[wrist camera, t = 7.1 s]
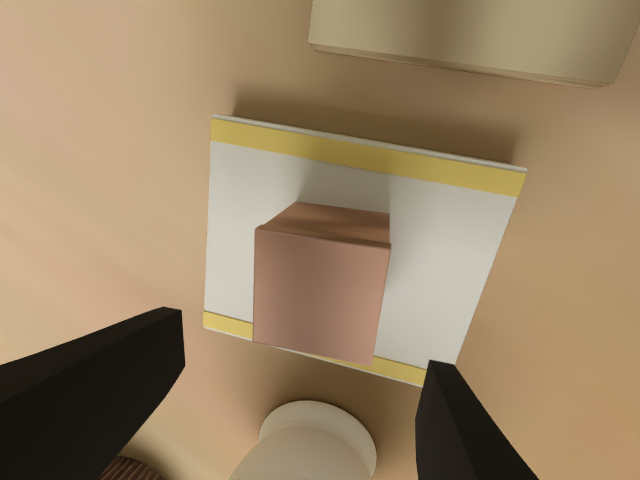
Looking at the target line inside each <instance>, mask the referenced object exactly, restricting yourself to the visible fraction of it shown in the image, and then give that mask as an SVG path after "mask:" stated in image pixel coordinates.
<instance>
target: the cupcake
mask: <svg viewBox="0 0 640 480" xmlns="http://www.w3.org/2000/svg"><path fill="white" fill-rule="evenodd" d="M97 480H163V479H162V478H161V476H160V475H159V474H158V473H157V472H156V471H154V470H153V469H151V468H150V467H149V466H148V465H145V464H144V463H142V462H139V461H137V460H133V459H131V458H125V457H121V456H120V457H115V458H114V459H113V461H112V462H111V463H110V464H109V465H108V467H107V468H106V469H105V470H104V471H103V473H102V474H101V475H100V476H99V478H98V479H97Z"/></svg>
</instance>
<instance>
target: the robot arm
mask: <svg viewBox="0 0 640 480" xmlns="http://www.w3.org/2000/svg"><path fill="white" fill-rule="evenodd" d="M184 367H185V353H184V339H183V325H182V311H181V310H178V309H173V308H168V307H161V308H157V309H154V310H151V311H148V312H145V313H142V314H140V315H137V316H134V317H132V318H129V319H127V320H124V321H121V322H119V323H116V324H114V325H111V326H109V327H106V328H103V329H101V330H98V331H96V332H93V333H91V334H88V335H85V336H83V337H80V338H77V339H75V340H72V341H69V342H66V343H64V344H61V345H58V346H55V347H52V348H50V349H47V350H44V351H41V352H38V353H36V354H33V355H30V356H27V357H24V358H21V359H18V360H15V361H12V362H8V363H5V364H2V365H0V480H97V479H98V478H99V476H100V475H101V474H102V473H103V471H104V470H105V469H106V468H107V467H108V465H109V464H110V463H111V462H112V461H113V459H114V458H115V457H116V456H117V455H118V453H119V452H120V451H121V450H122V449H123V447H124V446H125V445H126V444H127V443H128V442H129V440H130V439H131V438H132V437H133V436H134V434H135V433H136V432H137V431H138V430H139V428H140V427H141V426H142V425H143V424H144V422H145V421H146V420H147V419H148V418H149V416H150V415H151V414H152V413H153V412H154V410H155V409H156V408H157V407H158V405H159V404H160V403H161V402H162V401H163V399H164V398H165V397H166V395H167V394H168V392H169V391H170V389H171V388H172V386H173V385H174V383H175V382H176V380H177V379H178V377H179V375H180V374H181V372H182V370H183V369H184ZM415 433H416V463H417V472H418V480H539V479H538V478H537V476H536V475H535V474H534V473H533V471H532V470H531V469H530V468H529V467H528V465H527V464H526V463H525V462H524V460H523V459H522V458H521V457H520V455H519V454H518V453H517V452H516V450H515V449H514V448H513V446H512V445H511V444H510V442H509V441H508V440H507V438H506V437H505V436H504V434H503V433H502V432H501V430H500V429H499V428H498V426H497V425H496V424H495V422H494V421H493V420H492V418H491V417H490V415H489V414H488V413H487V411H486V410H485V409H484V407H483V406H482V404H481V403H480V401H479V400H478V399H477V397H476V396H475V394H474V393H473V391H472V390H471V388H470V387H469V386H468V384H467V383H466V381H465V380H464V378H463V377H462V375H461V374H460V372H459V371H458V370H457V368H456V367H455V365H454V364H450V363H445V362H440V361H435V360H430V359H429V363H428V367H427V371H426V376H425V380H424V384H423V388H422V392H421V397H420V401H419V405H418V409H417V414H416V418H415Z"/></svg>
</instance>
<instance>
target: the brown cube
mask: <svg viewBox="0 0 640 480" xmlns="http://www.w3.org/2000/svg"><path fill="white" fill-rule="evenodd" d="M390 254H391V243H390V214H389V213H381V212H374V211H366V210H358V209H351V208H343V207H336V206H328V205H320V204H313V203H305V202H297V201H295V202H294V203H293V204H291V205H290V206H289V207H287V208H286V209H285V210H283V211H282V212H280V213H279V214H278V215H276V216H275V217H274V218H272V219H271V220H270V221H268V222H267V223H265V224H264V225H263V224H261V225H259V226H258V227H257V228H255V234H254V286H253V338H252V342H255V343H260V344H265V345H270V346H274V347H279V348H284V349H289V350H294V351H298V352H303V353H308V354H313V355H317V356H322V357H327V358H332V359H337V360H341V361H346V362H351V363H356V364H360V365H365V366H370V367H371V366H372V361H373V355H374V349H375V343H376V337H377V331H378V325H379V319H380V313H381V307H382V302H383V296H384V290H385V284H386V278H387V272H388V266H389V260H390Z"/></svg>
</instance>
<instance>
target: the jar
mask: <svg viewBox="0 0 640 480" xmlns="http://www.w3.org/2000/svg"><path fill="white" fill-rule="evenodd" d="M376 462H377V454H376V448H375V445H374V442H373V440H372V438H371V436H370V434H369V433H368V431H367V430H366V429H365V427H364V426H363V425H362V424H361V423H360V422H359V421H358V420H357V419H356V418H354V417H353V416H352V415H350V414H349V413H347V412H346V411H344V410H342V409H340V408H338V407H336V406H333V405H330V404H327V403H323V402H318V401H295V402H290V403H287V404H284V405H282V406H280V407H278V408H276V409H275V410H274V411H272V412H271V413H270V414H269V415H268V416H267V418H266V419H265V420H264V422H263V424H262V427H261V430H260V434H259V443H258V444H257V445H256V446H255V447H254V448H253V449H252V450H251V451H250V452H249V453H248V454H247V455H246V456H245V457H244V459H243V460H242V461H241V462H240V464H239V465H238V466H237V468H236V469H235V471H234V472H233V474H232V475H231V477H230V478H229V480H372V476H373V474H374V471H375V468H376Z"/></svg>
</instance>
